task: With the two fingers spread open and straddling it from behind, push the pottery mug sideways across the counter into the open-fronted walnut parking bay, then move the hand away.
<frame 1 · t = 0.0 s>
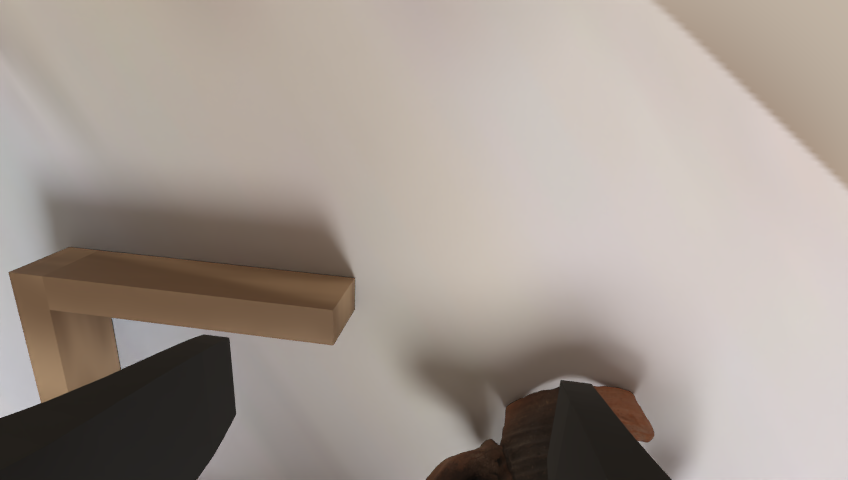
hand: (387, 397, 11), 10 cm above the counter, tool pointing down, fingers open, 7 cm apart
pottery mug: (553, 460, 23), on the counter
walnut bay: (246, 422, 25), on the counter
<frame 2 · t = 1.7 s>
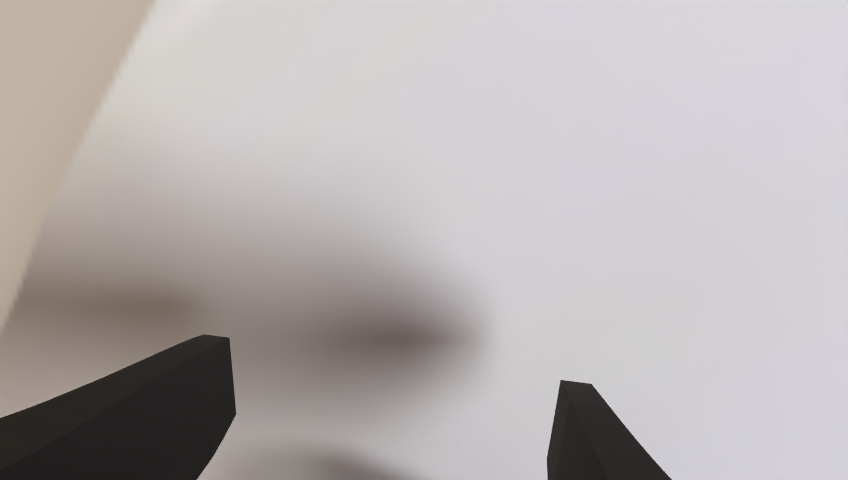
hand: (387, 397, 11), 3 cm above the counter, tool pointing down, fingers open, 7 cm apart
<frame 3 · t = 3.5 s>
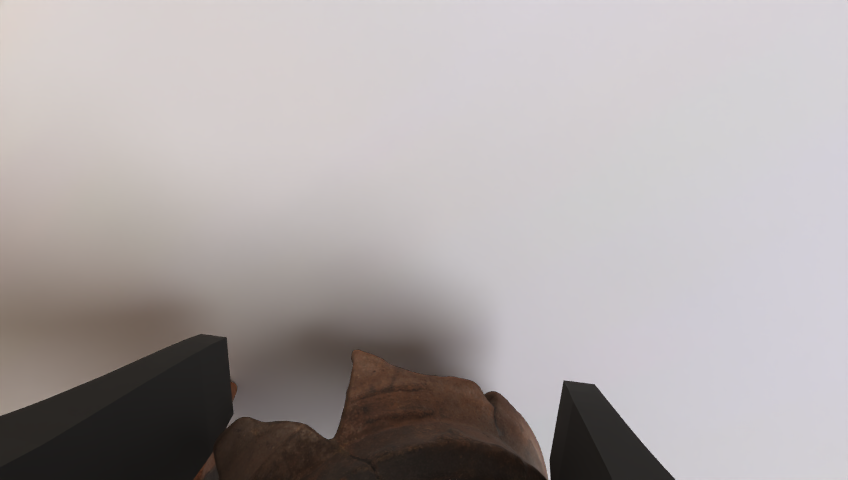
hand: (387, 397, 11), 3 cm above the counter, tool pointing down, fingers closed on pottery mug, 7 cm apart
pottery mug: (370, 463, 16), on the counter, touching gripper
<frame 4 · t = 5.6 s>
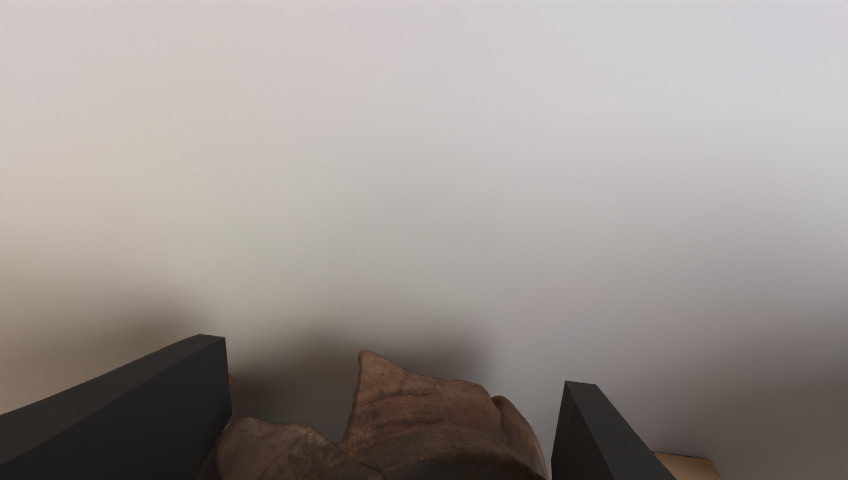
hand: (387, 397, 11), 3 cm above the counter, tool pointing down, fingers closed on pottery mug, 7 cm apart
pottery mug: (366, 458, 15), on the counter, touching gripper
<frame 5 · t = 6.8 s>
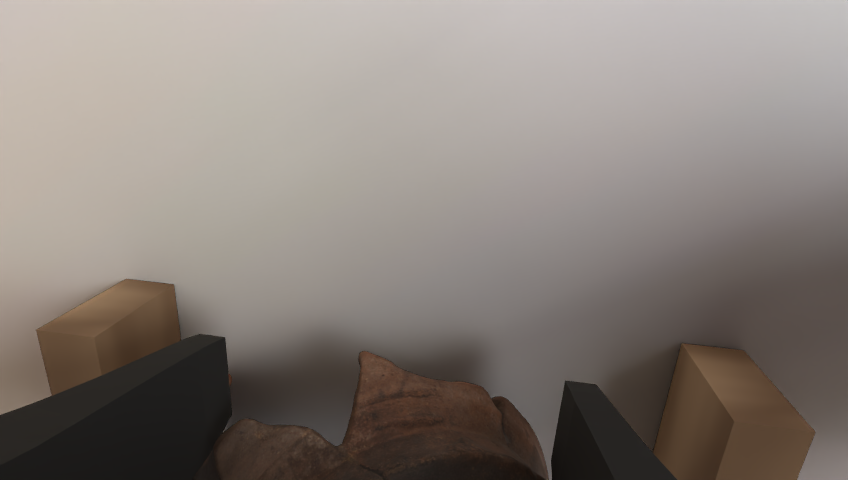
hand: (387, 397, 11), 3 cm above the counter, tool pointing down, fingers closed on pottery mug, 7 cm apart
pottery mug: (365, 457, 15), on the counter, touching gripper
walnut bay: (404, 470, 15), on the counter
when the fingers open (3 cm above the counter, at t = 7.6 s): pottery mug stays where it is, on the counter.
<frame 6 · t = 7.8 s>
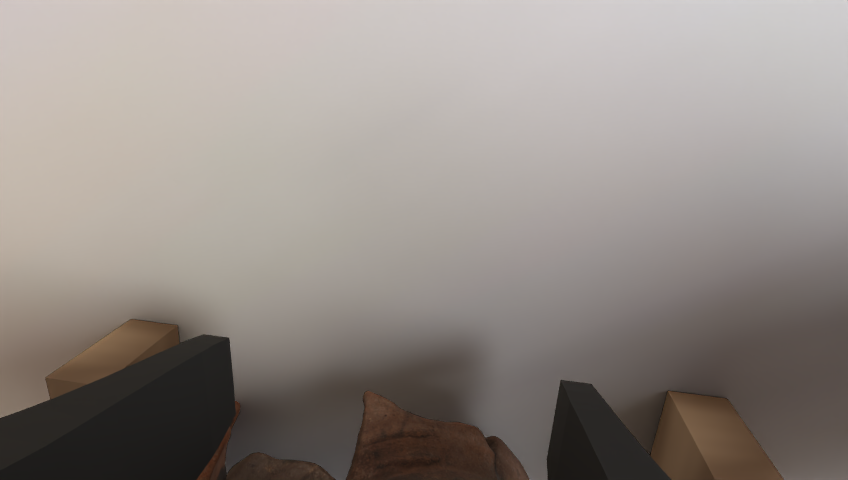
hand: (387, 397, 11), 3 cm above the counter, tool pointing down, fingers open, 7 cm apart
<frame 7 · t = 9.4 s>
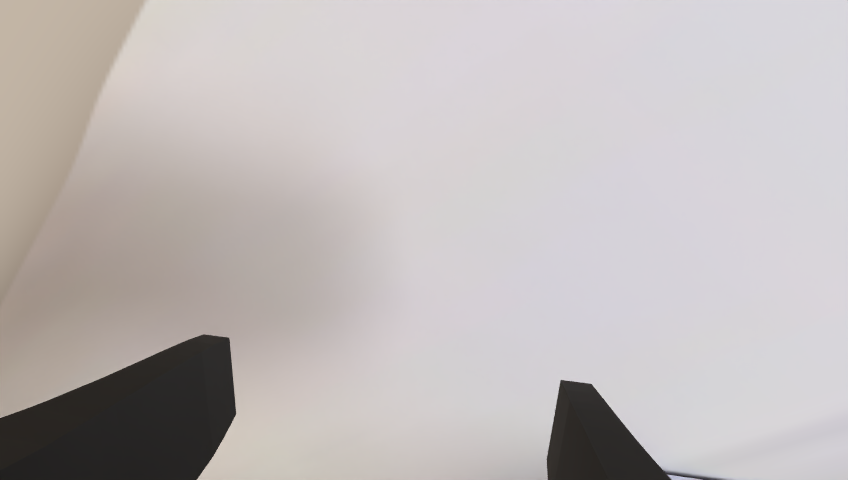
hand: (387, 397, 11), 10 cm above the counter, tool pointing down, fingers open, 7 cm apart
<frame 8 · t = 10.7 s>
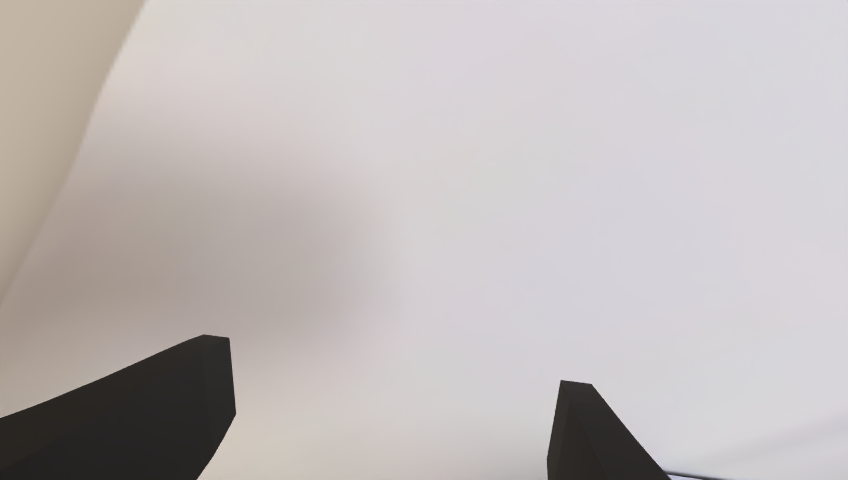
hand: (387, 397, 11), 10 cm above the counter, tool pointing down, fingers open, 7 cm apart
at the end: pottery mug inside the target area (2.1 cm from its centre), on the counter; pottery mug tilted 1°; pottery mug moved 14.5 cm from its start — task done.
